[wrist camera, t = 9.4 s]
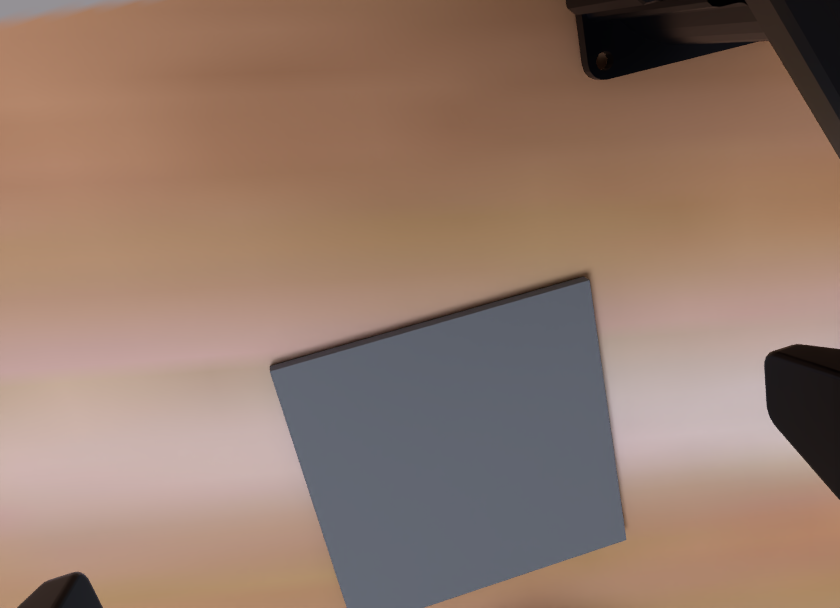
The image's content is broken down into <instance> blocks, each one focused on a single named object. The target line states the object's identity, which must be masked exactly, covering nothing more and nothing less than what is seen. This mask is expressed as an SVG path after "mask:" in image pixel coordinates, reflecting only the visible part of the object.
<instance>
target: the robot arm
mask: <svg viewBox="0 0 840 608" xmlns="http://www.w3.org/2000/svg"><path fill="white" fill-rule="evenodd" d="M566 5H567V8H568V9H569V10H570V11H571V12H573V13H574V14H575V15H576V22H577V30H578V38H579V45H580V53H581V61H582V66H583V69H584V72H585V73H586V74H587V76H588V77H590V78H592V79H597V80H607V79H611V78H615V77H619V76H623V75H627V74H631V73H635V72H639V71H643V70H647V69H651V68H655V67H659V66H663V65H667V64H671V63H675V62H679V61H683V60H687V59H691V58H695V57H698V56H702V55H706V54H710V53H714V52H718V51H722V50H726V49H730V48H734V47H738V46H742V45H746V44H750V43H754V42H758V41H770V43H771V45H772V46H773V48H774V50H775V51H776V53H777V55H778V56H779V58H780V60H781V61H782V63H783V65H784V66H785V68H786V70H787V71H788V73H789V75H790V76H791V78H792V80H793V81H794V83H795V85H796V87H797V88H798V90H799V92H800V93H801V95H802V97H803V98H804V100H805V102H806V103H807V105H808V107H809V108H810V110H811V112H812V113H813V115H814V117H815V118H816V120H817V122H818V123H819V125H820V127H821V128H822V130H823V132H824V133H825V135H826V137H827V138H828V140H829V142H830V143H831V145H832V147H833V148H834V150H835V152H836V153H837V155H838V157H839V158H840V0H566ZM601 52H603V53H604V54H606V57H607V64H606V66H605V67H604V68H603V69H602V70H600V69H599V68H598V67H597V64H596V60H597V57H598V55H599V54H600V53H601ZM764 369H765V385H766V402H767V410H768V413H769V416H770V418H771V420H772V422H773V423H774V425H775V426H776V427H777V429H778V430H779V431H780V432H781V433H782V434H783V435H784V437H785V438H786V439H787V440H788V441H789V442H790V443H791V445H792V446H793V447H794V448H795V449H796V450H797V452H798V453H799V454H800V455H801V456H802V457H803V458H804V460H805V461H806V462H807V463H808V464H809V465H810V467H811V468H812V469H813V470H814V471H815V472H816V473H817V475H818V476H819V477H820V478H821V479H822V480H823V481H824V483H825V484H826V485H827V486H828V487H829V488H830V490H831V491H832V492H833V493H834V494H835V495H836V496H837V497H838V499H839V500H840V349H834V348H826V347H818V346H810V345H802V344H796V345H791V346H788V347H784V348H781V349H778V350H775V351H772V352H770V353H769V354H768V355H767V356H766V359H765V363H764ZM17 608H103V607H102V605H101V603H100V601H99V599H98V597H97V595H96V593H95V591H94V589H93V587H92V585H91V583H90V581H89V579H88V578H87V577H86V576H85V575H84V574H83V573H81V572H73V573H70V574H66V575H63V576H60V577H57V578H54V579H51V580H48V581H46V582H44V583H43V584H42V585H41V586H39V587H38V588H37V589H36V590H35V591H34V592H33V593H32V594H31V595H30V596H29V597H28V598H27V599H26V600H25V601H24V602H23V603H21V604H20V605H19V606H18V607H17Z"/></svg>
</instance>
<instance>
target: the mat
mask: <svg viewBox="0 0 840 608" xmlns="http://www.w3.org/2000/svg"><path fill="white" fill-rule="evenodd" d="M270 373H271V376H272V379H273V382H274V386H275V389H276V392H277V395H278V398H279V401H280V404H281V407H282V410H283V413H284V416H285V419H286V422H287V425H288V428H289V432H290V435H291V438H292V441H293V444H294V447H295V450H296V453H297V456H298V459H299V462H300V465H301V468H302V471H303V475H304V478H305V481H306V484H307V487H308V490H309V493H310V496H311V499H312V502H313V505H314V508H315V511H316V514H317V517H318V521H319V524H320V527H321V530H322V533H323V536H324V539H325V542H326V545H327V548H328V551H329V554H330V557H331V560H332V564H333V567H334V570H335V573H336V576H337V579H338V582H339V585H340V588H341V591H342V594H343V597H344V600H345V603H346V606H347V608H424V607H427V606H430V605H433V604H436V603H439V602H442V601H445V600H448V599H451V598H454V597H457V596H460V595H463V594H466V593H469V592H472V591H475V590H478V589H481V588H484V587H487V586H490V585H493V584H496V583H499V582H502V581H505V580H508V579H511V578H514V577H517V576H520V575H523V574H526V573H528V572H531V571H534V570H537V569H540V568H543V567H546V566H549V565H552V564H555V563H558V562H561V561H564V560H567V559H570V558H573V557H576V556H579V555H582V554H585V553H588V552H591V551H594V550H597V549H600V548H603V547H606V546H609V545H612V544H615V543H618V542H621V541H624V540H626V534H625V527H624V520H623V513H622V506H621V499H620V492H619V485H618V478H617V471H616V464H615V457H614V450H613V443H612V435H611V428H610V421H609V414H608V407H607V400H606V393H605V386H604V379H603V372H602V365H601V358H600V351H599V344H598V337H597V330H596V323H595V316H594V309H593V302H592V294H591V287H590V280H589V279H587V278H586V277H581V278H577V279H574V280H570V281H567V282H563V283H560V284H556V285H553V286H549V287H546V288H542V289H539V290H535V291H532V292H528V293H525V294H521V295H518V296H514V297H510V298H507V299H503V300H500V301H496V302H493V303H489V304H486V305H482V306H479V307H475V308H472V309H468V310H465V311H461V312H458V313H454V314H451V315H447V316H444V317H440V318H437V319H433V320H430V321H426V322H423V323H419V324H416V325H412V326H409V327H405V328H402V329H398V330H395V331H391V332H388V333H384V334H381V335H377V336H374V337H370V338H367V339H363V340H360V341H356V342H353V343H349V344H346V345H342V346H339V347H335V348H332V349H328V350H325V351H321V352H318V353H314V354H311V355H307V356H304V357H300V358H297V359H293V360H290V361H286V362H283V363H279V364H276V365H272V366H270Z"/></svg>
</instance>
